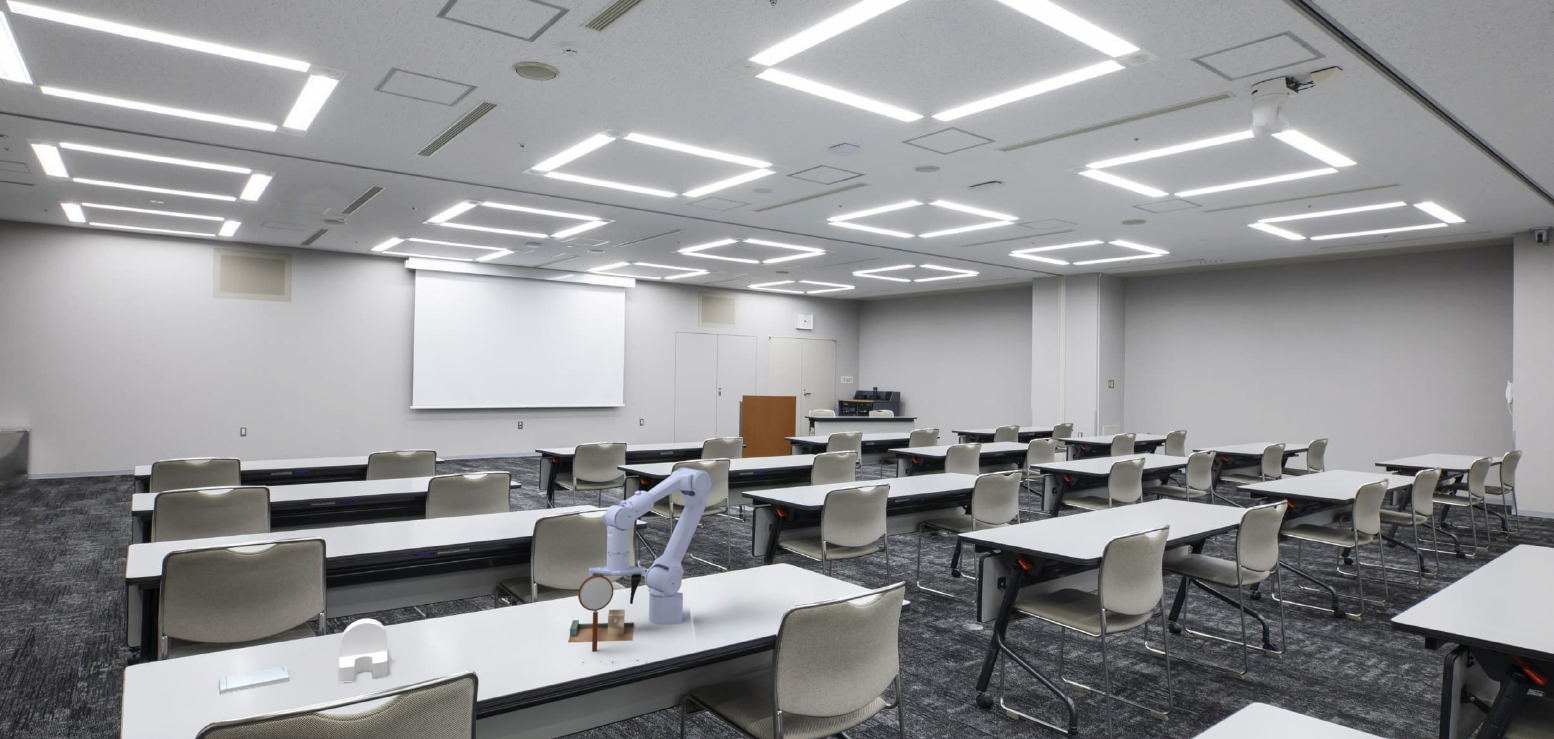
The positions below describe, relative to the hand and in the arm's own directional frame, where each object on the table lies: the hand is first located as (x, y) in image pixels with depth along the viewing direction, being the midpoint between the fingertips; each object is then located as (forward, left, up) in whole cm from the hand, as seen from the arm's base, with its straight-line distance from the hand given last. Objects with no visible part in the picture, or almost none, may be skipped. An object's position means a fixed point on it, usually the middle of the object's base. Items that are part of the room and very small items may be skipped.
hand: (616, 603), depth 202 cm
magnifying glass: (+4, +13, -9) cm, 17 cm away
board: (+3, +1, -9) cm, 10 cm away
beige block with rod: (0, 0, -8) cm, 8 cm away
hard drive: (+77, +21, -10) cm, 80 cm away
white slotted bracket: (+57, +14, -10) cm, 60 cm away
